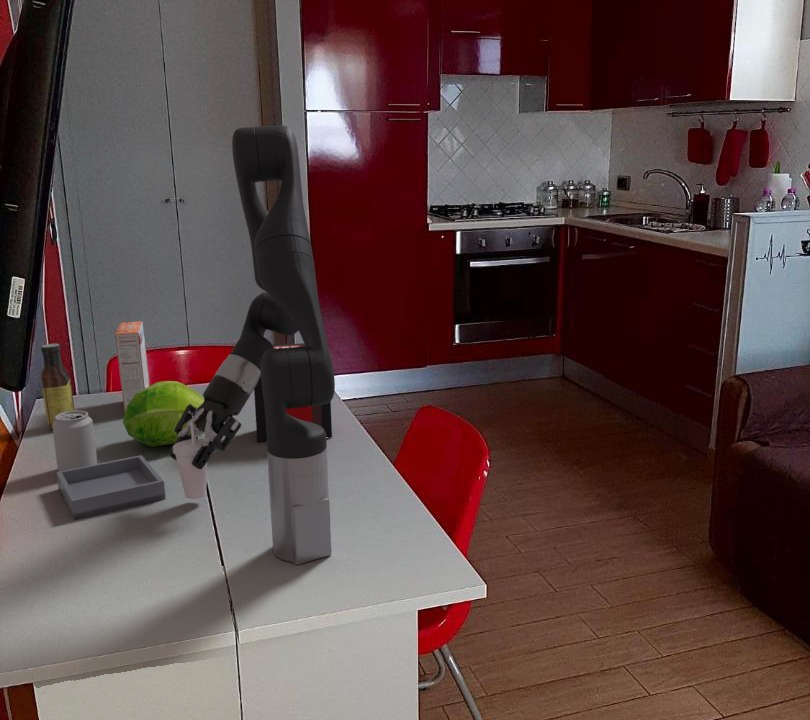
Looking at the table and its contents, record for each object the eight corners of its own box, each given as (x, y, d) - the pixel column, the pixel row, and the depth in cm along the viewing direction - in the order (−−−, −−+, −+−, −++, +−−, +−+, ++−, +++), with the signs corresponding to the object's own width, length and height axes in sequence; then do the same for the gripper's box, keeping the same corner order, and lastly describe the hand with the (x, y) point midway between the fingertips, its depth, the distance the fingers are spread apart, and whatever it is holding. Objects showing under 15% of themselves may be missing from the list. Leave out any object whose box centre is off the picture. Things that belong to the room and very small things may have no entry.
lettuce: (220, 449, 175) (216, 389, 172) (122, 459, 170) (116, 397, 167) (217, 426, 189) (213, 371, 186) (127, 435, 184) (121, 378, 181)
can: (84, 478, 160) (77, 421, 157) (50, 476, 161) (43, 419, 158) (105, 464, 167) (98, 409, 164) (72, 462, 168) (65, 407, 165)
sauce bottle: (82, 425, 191) (72, 344, 187) (58, 433, 186) (48, 349, 181) (65, 421, 195) (55, 341, 190) (41, 428, 190) (30, 346, 185)
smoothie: (208, 501, 144) (201, 427, 141) (172, 502, 144) (165, 427, 141) (217, 487, 150) (211, 415, 147) (183, 488, 150) (176, 416, 147)
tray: (165, 498, 150) (163, 481, 149) (74, 519, 142) (72, 501, 141) (143, 471, 163) (141, 455, 162) (58, 488, 155) (56, 471, 154)
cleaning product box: (329, 425, 190) (326, 342, 185) (332, 437, 181) (328, 351, 176) (258, 429, 187) (253, 345, 182) (257, 442, 179) (251, 355, 174)
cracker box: (127, 400, 211) (119, 321, 206) (151, 398, 213) (144, 320, 207) (122, 416, 198) (113, 333, 193) (148, 414, 199) (140, 331, 194)
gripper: (196, 368, 152) (147, 444, 146) (245, 379, 143) (194, 461, 137) (221, 388, 157) (175, 463, 151) (270, 401, 148) (222, 481, 142)
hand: (184, 462), depth 144 cm, fingers closed on smoothie, 6 cm apart
